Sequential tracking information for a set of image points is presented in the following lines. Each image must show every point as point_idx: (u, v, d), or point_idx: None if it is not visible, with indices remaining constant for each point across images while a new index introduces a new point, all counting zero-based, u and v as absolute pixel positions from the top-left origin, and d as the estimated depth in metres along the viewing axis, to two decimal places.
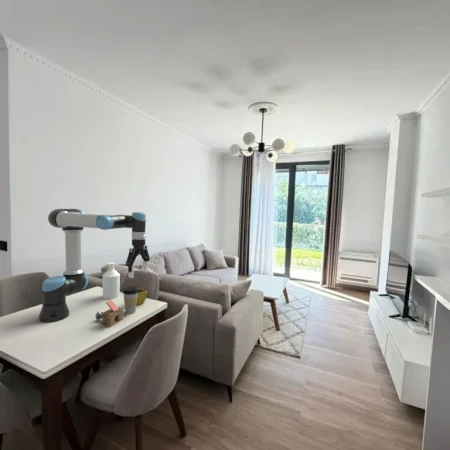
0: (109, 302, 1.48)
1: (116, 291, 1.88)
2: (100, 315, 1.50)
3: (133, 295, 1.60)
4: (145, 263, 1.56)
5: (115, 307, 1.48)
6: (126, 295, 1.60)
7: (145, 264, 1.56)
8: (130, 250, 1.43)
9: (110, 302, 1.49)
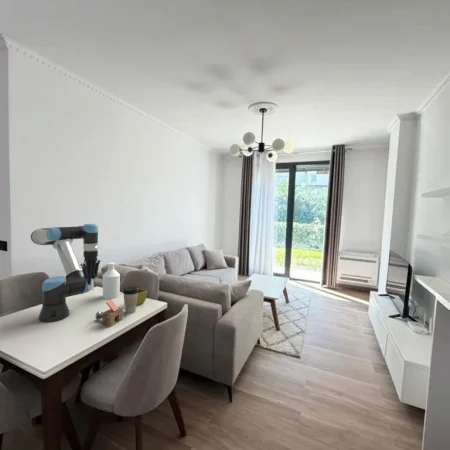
0: (109, 302, 1.48)
1: (116, 291, 1.88)
2: (100, 315, 1.50)
3: (133, 295, 1.60)
4: None
5: (115, 307, 1.48)
6: (126, 295, 1.60)
7: None
8: (82, 266, 1.46)
9: (110, 302, 1.49)
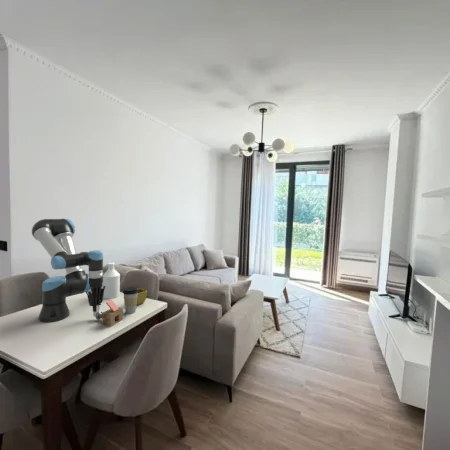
0: (109, 302, 1.48)
1: (116, 291, 1.88)
2: (100, 315, 1.50)
3: (133, 295, 1.60)
4: None
5: (115, 307, 1.48)
6: (126, 295, 1.60)
7: None
8: (87, 293, 1.45)
9: (110, 302, 1.49)
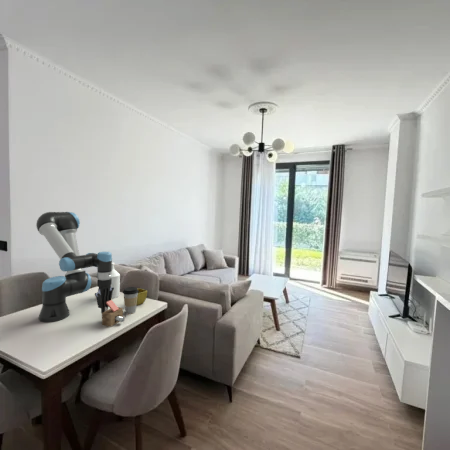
0: (109, 302, 1.48)
1: (116, 291, 1.88)
2: None
3: (133, 295, 1.60)
4: None
5: (115, 307, 1.48)
6: (126, 295, 1.60)
7: None
8: (96, 295, 1.44)
9: (110, 302, 1.49)
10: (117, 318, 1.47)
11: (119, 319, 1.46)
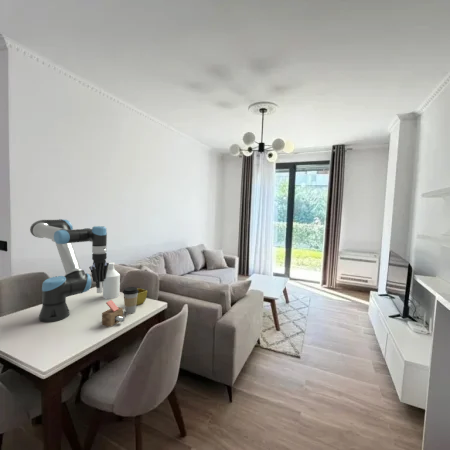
0: (109, 302, 1.48)
1: (116, 291, 1.88)
2: None
3: (133, 295, 1.60)
4: None
5: (115, 307, 1.48)
6: (126, 295, 1.60)
7: None
8: (90, 269, 1.44)
9: (110, 302, 1.49)
10: (117, 318, 1.47)
11: (119, 319, 1.46)
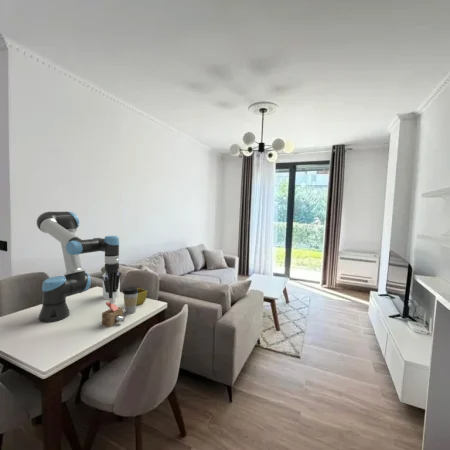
0: (108, 302, 1.48)
1: None
2: None
3: (133, 295, 1.60)
4: None
5: (115, 307, 1.48)
6: (126, 295, 1.60)
7: None
8: (103, 279, 1.42)
9: None
10: (117, 318, 1.47)
11: (119, 319, 1.46)
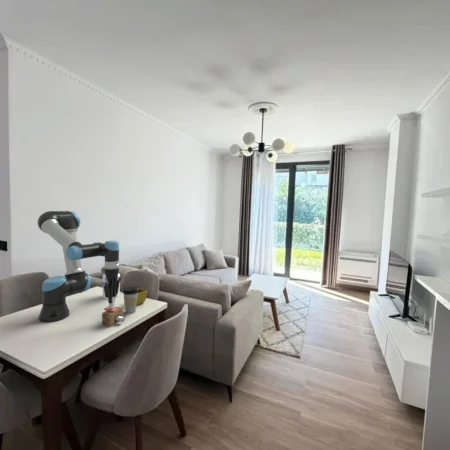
0: (106, 307, 1.49)
1: None
2: None
3: (133, 295, 1.60)
4: None
5: (114, 308, 1.49)
6: (126, 295, 1.60)
7: None
8: (103, 284, 1.42)
9: (108, 307, 1.49)
10: (117, 318, 1.47)
11: (119, 319, 1.46)
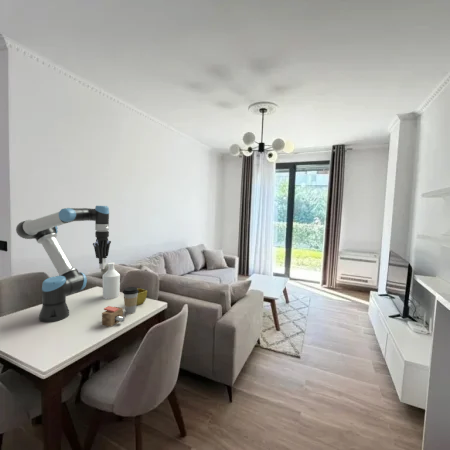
0: (106, 307, 1.49)
1: (116, 291, 1.88)
2: None
3: (133, 295, 1.60)
4: None
5: (114, 308, 1.49)
6: (126, 295, 1.60)
7: None
8: (94, 245, 1.52)
9: (108, 307, 1.49)
10: (117, 318, 1.47)
11: (119, 319, 1.46)
